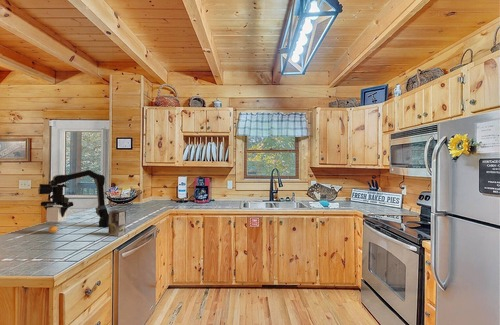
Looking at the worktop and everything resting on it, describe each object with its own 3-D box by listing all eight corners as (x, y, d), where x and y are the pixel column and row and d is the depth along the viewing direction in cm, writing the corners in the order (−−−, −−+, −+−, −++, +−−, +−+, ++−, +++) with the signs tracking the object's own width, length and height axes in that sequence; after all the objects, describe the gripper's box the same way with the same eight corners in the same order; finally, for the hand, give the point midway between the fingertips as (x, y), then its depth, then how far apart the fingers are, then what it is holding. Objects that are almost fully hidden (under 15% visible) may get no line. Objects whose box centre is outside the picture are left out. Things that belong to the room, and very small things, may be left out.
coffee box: (125, 234, 182) (126, 211, 182) (118, 236, 176) (119, 212, 176) (115, 232, 185) (116, 209, 185) (107, 234, 179) (108, 211, 179)
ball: (55, 233, 181) (60, 229, 181) (49, 235, 176) (55, 231, 176) (50, 227, 181) (56, 223, 181) (45, 229, 176) (51, 224, 176)
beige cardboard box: (65, 219, 182) (66, 206, 182) (57, 221, 174) (58, 208, 174) (54, 218, 182) (55, 206, 182) (46, 221, 174) (47, 207, 175)
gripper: (79, 192, 187) (78, 214, 187) (53, 191, 187) (52, 213, 187) (68, 194, 175) (67, 218, 175) (40, 193, 176) (39, 216, 175)
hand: (56, 216), depth 179 cm, fingers closed on beige cardboard box, 8 cm apart
